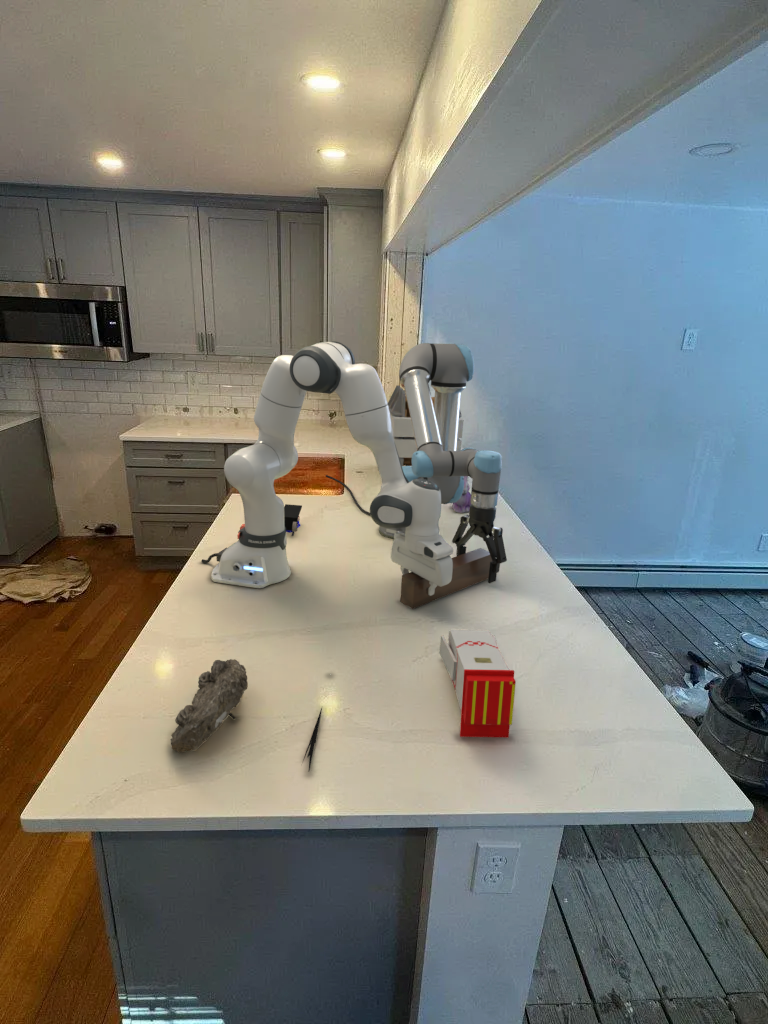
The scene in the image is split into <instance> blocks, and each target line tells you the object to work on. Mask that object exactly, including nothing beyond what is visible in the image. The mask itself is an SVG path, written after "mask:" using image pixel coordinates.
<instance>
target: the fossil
mask: <svg viewBox="0 0 768 1024" xmlns="http://www.w3.org/2000/svg"><path fill="white" fill-rule="evenodd" d="M197 683H198V684H197V687H198V690H197V691H196V693H195V694H194V697H193V698H192V701H191V704H187V705H185V706H184V707H183V708H182V709H181V710H179V712H178V713H177V715H176V717H175V719H174V721H175V723H176V725H177V726H176V728H175V730H174V731H173V732H172V733H171V735H170V736H171V738H170V747H171V750H172V751H176V752H178V753H186V752H190V751H193V752H195V751H197V750H198V749H199V748H200V747H201V746H202V745H203V744H204V743H205V742H207V741H208V740H209V739H210V737H211V736H212V735H213V734H215V733H216V731H218V730H219V729H220V728H221V726H222V725H223V723H224V721H225V720H226V719H227V718H228V717H230V718H232V720H235V719H236V716H235V715H234V714H233V713H232V710H233V709H235V708H237V706H238V705H239V704H240V702H241V700H242V698H243V696H244V693H245V691H246V690H247V689H248V686H249V685H248V675H247V669H246V668H245V666H244V665H243V664H241V663H240V661H238V660H237V659H236V658H234V659H232V658H230V659H226V660H221V659H216V660H214V661H213V662H212V665H211V667H210V671H208V670H207V671H205V672H201V674H200V675H199V676H198V681H197Z"/></svg>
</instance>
